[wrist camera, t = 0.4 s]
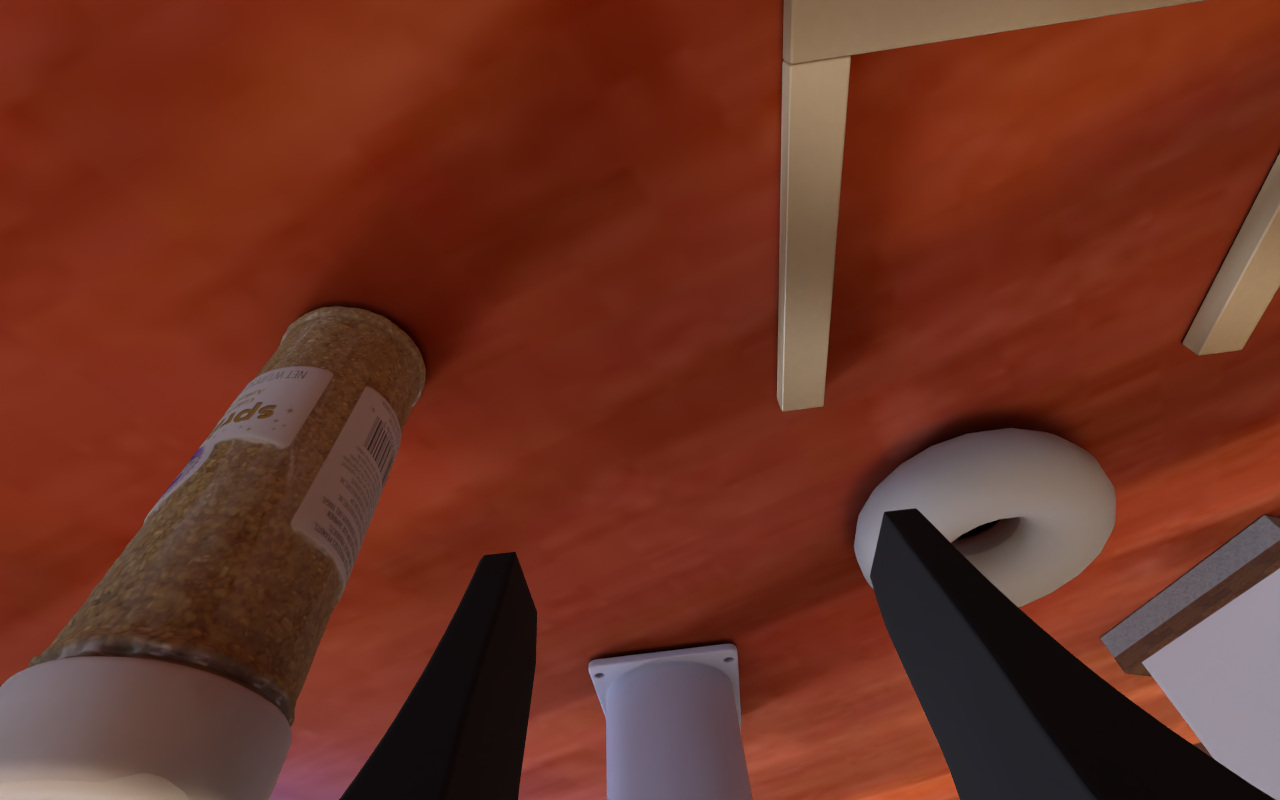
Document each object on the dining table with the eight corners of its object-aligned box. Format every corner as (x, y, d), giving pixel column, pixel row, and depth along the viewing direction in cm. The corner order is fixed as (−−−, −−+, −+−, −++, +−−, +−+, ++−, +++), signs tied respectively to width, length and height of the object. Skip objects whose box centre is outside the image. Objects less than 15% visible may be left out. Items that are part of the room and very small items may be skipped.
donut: (805, 483, 25) (889, 597, 30) (829, 549, 22) (917, 662, 27) (1053, 365, 22) (1100, 514, 27) (1117, 424, 19) (1156, 578, 24)
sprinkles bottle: (296, 278, 18) (-139, 767, 7) (446, 333, 19) (263, 808, 9) (277, 389, 20) (-73, 877, 10) (411, 430, 22) (234, 895, 11)
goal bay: (1223, 338, 21) (1242, 350, 21) (776, 398, 22) (782, 412, 21) (1481, -123, 14) (1523, -125, 13) (783, -11, 14) (791, -9, 14)
